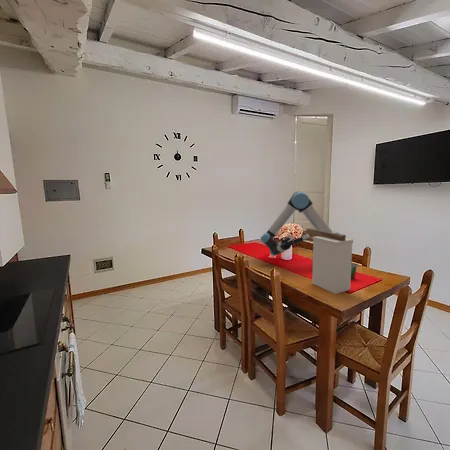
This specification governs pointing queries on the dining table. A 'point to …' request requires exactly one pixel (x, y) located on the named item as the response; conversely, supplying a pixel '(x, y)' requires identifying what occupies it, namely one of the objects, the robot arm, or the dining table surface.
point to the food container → (353, 270)
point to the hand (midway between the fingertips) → (300, 235)
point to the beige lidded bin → (332, 264)
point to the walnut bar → (326, 234)
